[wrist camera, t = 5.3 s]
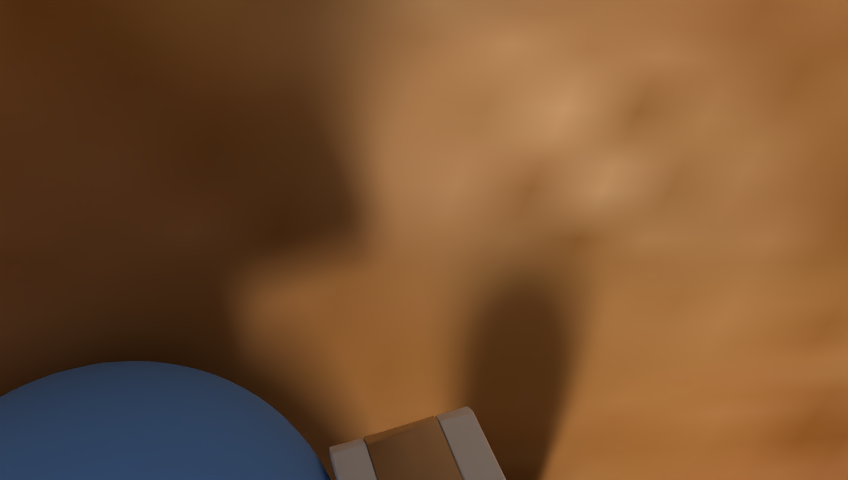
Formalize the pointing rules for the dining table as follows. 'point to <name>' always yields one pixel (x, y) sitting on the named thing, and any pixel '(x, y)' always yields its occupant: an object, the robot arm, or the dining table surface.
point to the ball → (147, 428)
